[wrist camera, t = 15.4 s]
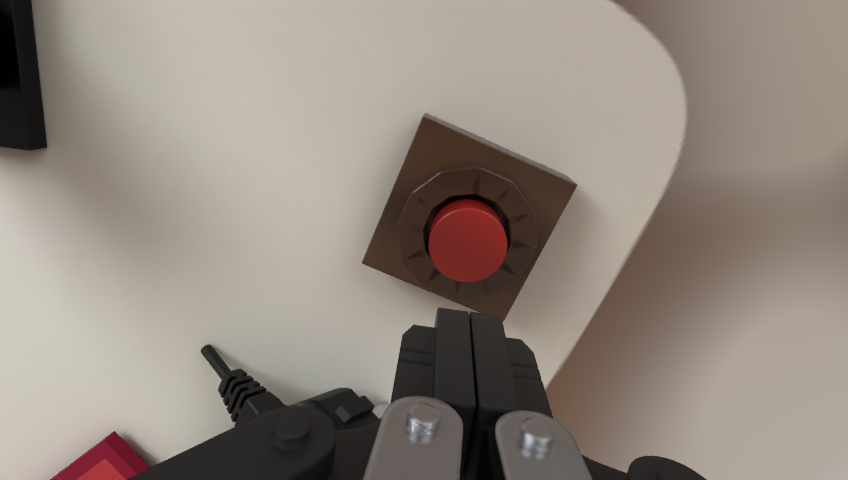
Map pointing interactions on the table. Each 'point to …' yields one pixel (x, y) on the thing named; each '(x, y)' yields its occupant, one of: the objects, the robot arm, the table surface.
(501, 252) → the button
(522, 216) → the button block
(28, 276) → the table surface
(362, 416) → the power plug
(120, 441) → the red board with handle
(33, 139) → the switch bracket
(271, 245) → the table surface
